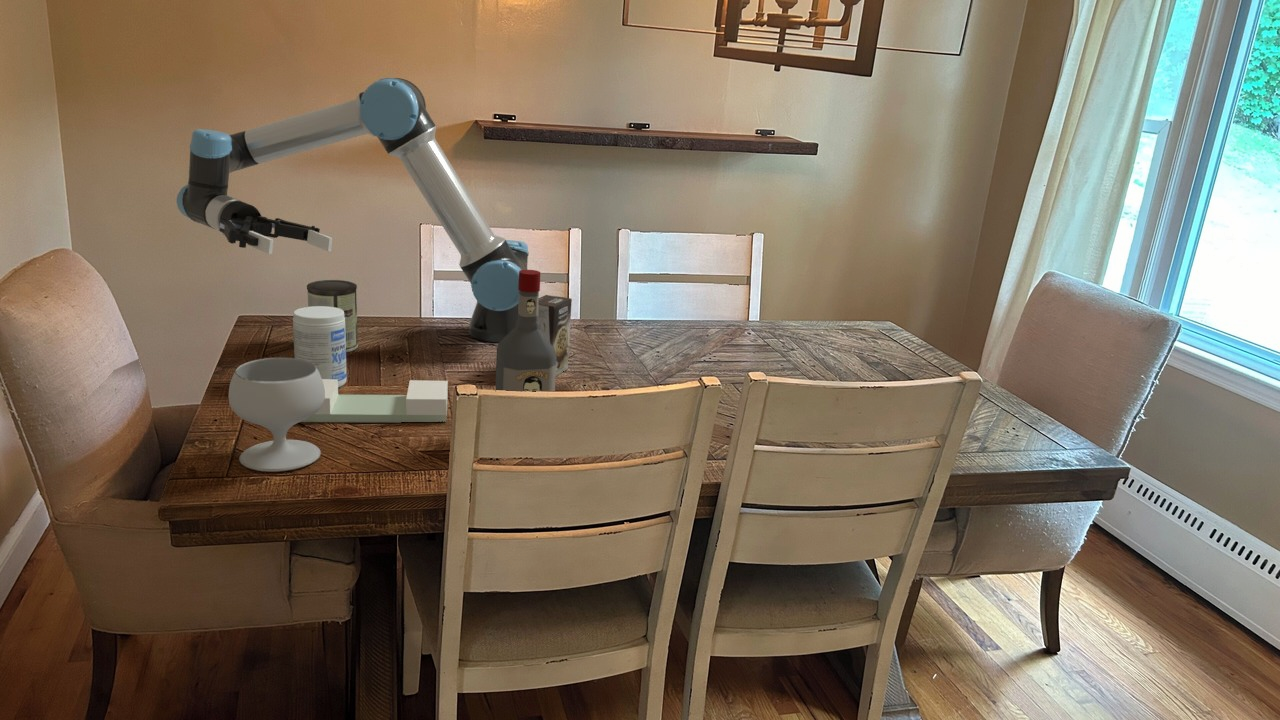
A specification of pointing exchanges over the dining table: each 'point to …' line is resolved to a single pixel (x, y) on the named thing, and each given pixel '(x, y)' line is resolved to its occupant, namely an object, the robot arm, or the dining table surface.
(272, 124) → the robot arm
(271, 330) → the dining table surface
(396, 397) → the rail
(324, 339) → the supplement tub
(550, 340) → the coffee box
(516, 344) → the liquor
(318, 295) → the coffee can
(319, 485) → the dining table surface
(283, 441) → the chalice
